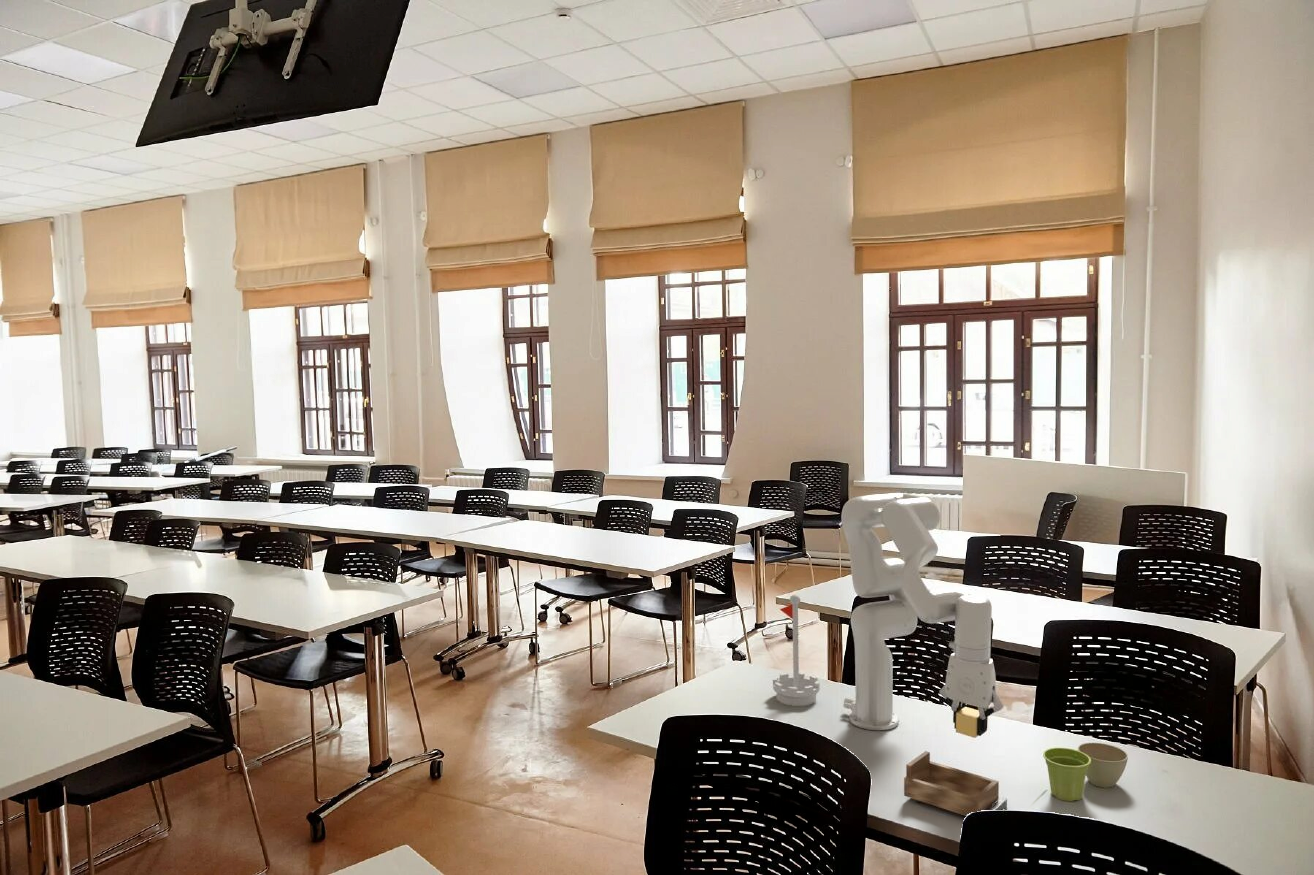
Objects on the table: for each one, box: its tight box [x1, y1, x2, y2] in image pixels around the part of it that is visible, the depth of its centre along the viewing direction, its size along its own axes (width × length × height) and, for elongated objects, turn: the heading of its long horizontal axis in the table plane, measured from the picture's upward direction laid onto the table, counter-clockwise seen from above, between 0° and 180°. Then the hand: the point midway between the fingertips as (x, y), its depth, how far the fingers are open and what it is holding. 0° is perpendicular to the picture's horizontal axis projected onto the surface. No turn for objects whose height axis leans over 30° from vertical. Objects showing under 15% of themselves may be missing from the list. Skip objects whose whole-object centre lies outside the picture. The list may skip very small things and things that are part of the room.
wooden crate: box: [903, 750, 1000, 817], centre depth 194 cm, size 16×11×8 cm
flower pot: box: [1077, 742, 1129, 789], centre depth 203 cm, size 10×10×7 cm
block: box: [955, 706, 979, 739], centre depth 204 cm, size 4×4×4 cm
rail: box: [988, 797, 1008, 810], centre depth 197 cm, size 28×11×2 cm, turn 47°
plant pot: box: [1042, 747, 1091, 802], centre depth 198 cm, size 9×9×9 cm
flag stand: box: [772, 593, 821, 707], centre depth 257 cm, size 13×13×30 cm
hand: (969, 729), depth 205 cm, fingers closed on block, 4 cm apart
